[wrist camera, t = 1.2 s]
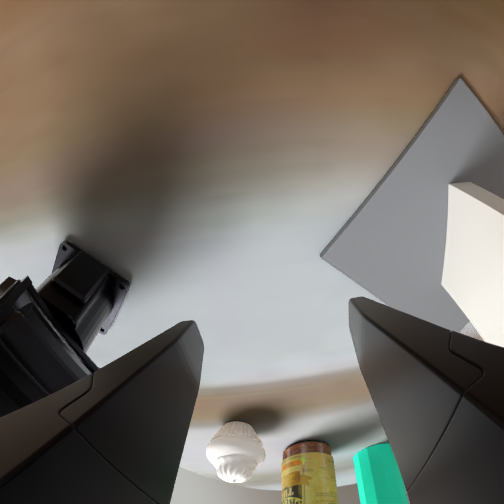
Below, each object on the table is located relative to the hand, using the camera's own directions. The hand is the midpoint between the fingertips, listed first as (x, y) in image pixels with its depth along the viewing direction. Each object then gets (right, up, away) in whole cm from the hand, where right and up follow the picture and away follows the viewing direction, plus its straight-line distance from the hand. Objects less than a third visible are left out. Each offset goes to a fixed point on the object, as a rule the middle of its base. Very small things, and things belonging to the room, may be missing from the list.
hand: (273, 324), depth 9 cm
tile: (+14, +3, +11) cm, 18 cm away
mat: (+15, +4, +11) cm, 19 cm away
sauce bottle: (+6, -22, +24) cm, 33 cm away
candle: (+16, -25, +25) cm, 39 cm away
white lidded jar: (-2, -17, +22) cm, 28 cm away
